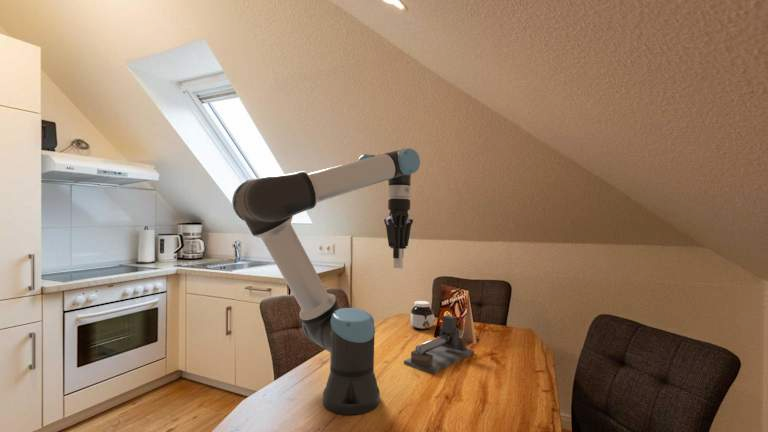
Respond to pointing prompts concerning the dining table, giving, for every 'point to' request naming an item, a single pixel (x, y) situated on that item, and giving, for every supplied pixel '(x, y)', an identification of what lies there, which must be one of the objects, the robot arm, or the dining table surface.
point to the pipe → (435, 343)
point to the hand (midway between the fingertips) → (398, 267)
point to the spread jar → (422, 316)
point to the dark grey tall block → (450, 331)
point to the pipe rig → (438, 357)
